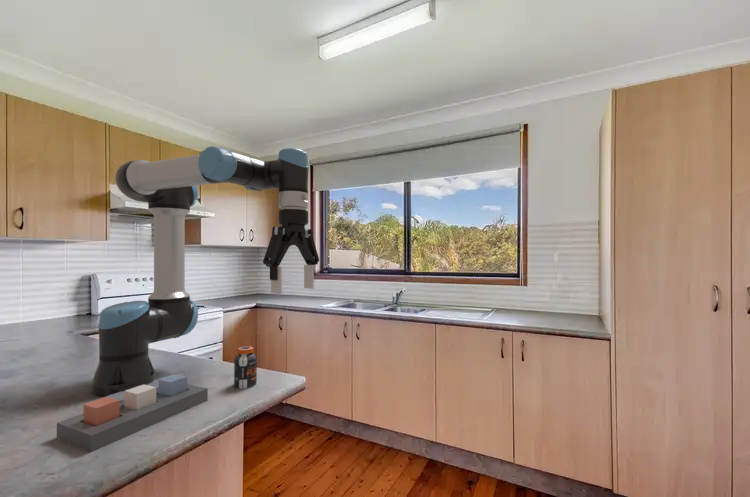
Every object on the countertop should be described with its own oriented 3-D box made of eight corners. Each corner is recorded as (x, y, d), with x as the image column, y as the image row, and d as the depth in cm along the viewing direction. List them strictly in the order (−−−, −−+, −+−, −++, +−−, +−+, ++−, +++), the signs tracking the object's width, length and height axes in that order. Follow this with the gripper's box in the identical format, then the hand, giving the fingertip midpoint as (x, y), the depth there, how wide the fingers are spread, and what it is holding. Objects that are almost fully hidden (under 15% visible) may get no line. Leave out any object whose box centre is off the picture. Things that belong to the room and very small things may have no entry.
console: (56, 442, 74) (56, 422, 74) (175, 396, 98) (175, 381, 98) (91, 457, 69) (91, 435, 69) (207, 404, 93) (207, 388, 93)
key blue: (158, 396, 90) (158, 379, 90) (175, 389, 94) (175, 374, 94) (170, 399, 88) (170, 382, 88) (187, 392, 92) (187, 376, 92)
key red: (83, 424, 75) (83, 404, 75) (106, 415, 79) (106, 396, 79) (96, 428, 73) (96, 408, 73) (119, 419, 77) (119, 400, 77)
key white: (124, 408, 82) (124, 390, 82) (143, 401, 86) (143, 384, 86) (136, 412, 80) (136, 394, 80) (156, 404, 84) (156, 387, 84)
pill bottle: (249, 392, 100) (249, 351, 100) (229, 391, 101) (229, 349, 101) (260, 385, 106) (260, 345, 106) (241, 383, 107) (241, 344, 107)
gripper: (272, 203, 84) (272, 297, 84) (331, 213, 106) (331, 287, 106) (247, 205, 87) (247, 295, 87) (309, 214, 110) (309, 286, 109)
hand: (293, 290), depth 97 cm, fingers open, 13 cm apart
